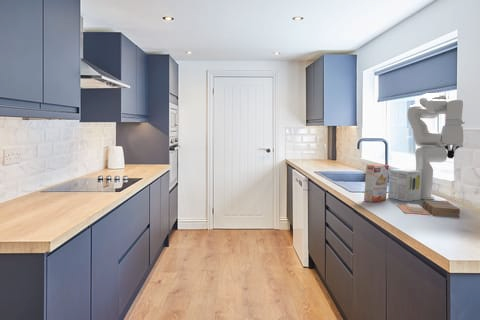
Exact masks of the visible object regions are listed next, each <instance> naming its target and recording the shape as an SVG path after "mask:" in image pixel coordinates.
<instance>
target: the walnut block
mask: <svg viewBox="0 0 480 320" xmlns="http://www.w3.org/2000/svg"><path fill="white" fill-rule="evenodd" d="M421 207H422V208H423V209H425V210H426V211H427V212H428V213H430V215H432V216H440V217H454V218H455V217H456V218H459V217H460V213H461V209H460V208H459V207H458V206H455V205H454V204H453V203H450V201H447V200H436V199H435V200H434V199H431V200H426V199H422V206H421Z"/></svg>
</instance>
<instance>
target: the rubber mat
mask: <svg viewBox="0 0 480 320" xmlns="http://www.w3.org/2000/svg"><path fill="white" fill-rule="evenodd" d="M396 206H397V207H398V209H400V210H401V212H403V214H412V215H425V216H430V215H431V213H429V212H428V211H427V210H426V209H424V208H423V212H418V211H409V210H408V209H407V208H406V204H396Z"/></svg>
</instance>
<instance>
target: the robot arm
mask: <svg viewBox="0 0 480 320" xmlns="http://www.w3.org/2000/svg"><path fill="white" fill-rule="evenodd" d="M463 107H464V102H463V100H462V99H447V96H446V95H444V94H441V93H425V94H423V95H421V96H420V98H419V104H413V105H410V106H409V107H408V109H407V119H408V122H409V124H410V126H411V129H412V133H413V137H414V138H413V139H414V142H415V145H416V146H417V148H416V149H415V152H414V155H415V170H418V171H422V182H421V196H420V200H434V199H435V196H432V192H433V177H434V168H433V167H432V165H431V164H430V163H444V162H446V161H447V159H454V157H455V151H456V150H458V149H460V148H463V147H464V128H463V126H462V125H465V121H463ZM439 115H445V117H444V118H445V119H444V120H445V121H444V125H443V126H442V128H441V133H440V132H437V131H429V128H428V126H427V124H426V122H424V120H422V119H436V118H438V117H439Z"/></svg>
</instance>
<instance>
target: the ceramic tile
mask: <svg viewBox="0 0 480 320" xmlns="http://www.w3.org/2000/svg"><path fill="white" fill-rule="evenodd" d="M405 205H406V208H407V209H408V210H409V211H418V212H423V209H424V208H423V207H422V206H421V205H420V204H416V203H406V204H405Z"/></svg>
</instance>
